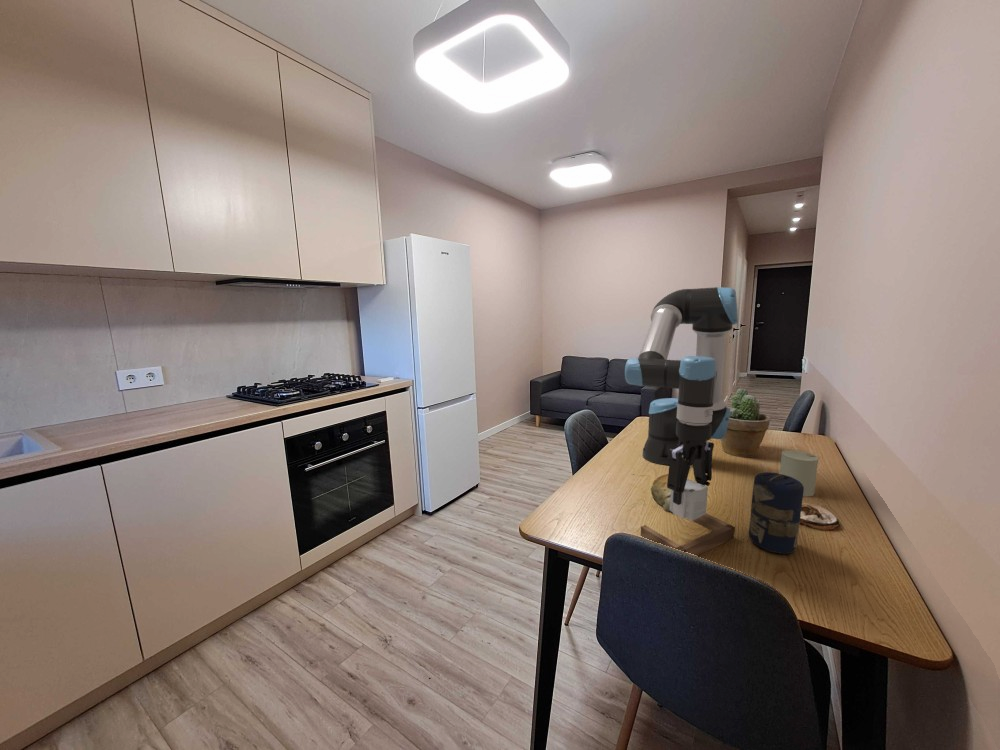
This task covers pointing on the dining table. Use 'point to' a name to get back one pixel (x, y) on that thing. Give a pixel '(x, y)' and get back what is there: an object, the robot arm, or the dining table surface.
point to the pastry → (661, 492)
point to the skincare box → (693, 500)
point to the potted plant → (744, 426)
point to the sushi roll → (817, 517)
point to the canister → (775, 512)
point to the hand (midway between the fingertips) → (687, 511)
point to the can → (800, 468)
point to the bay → (702, 544)
